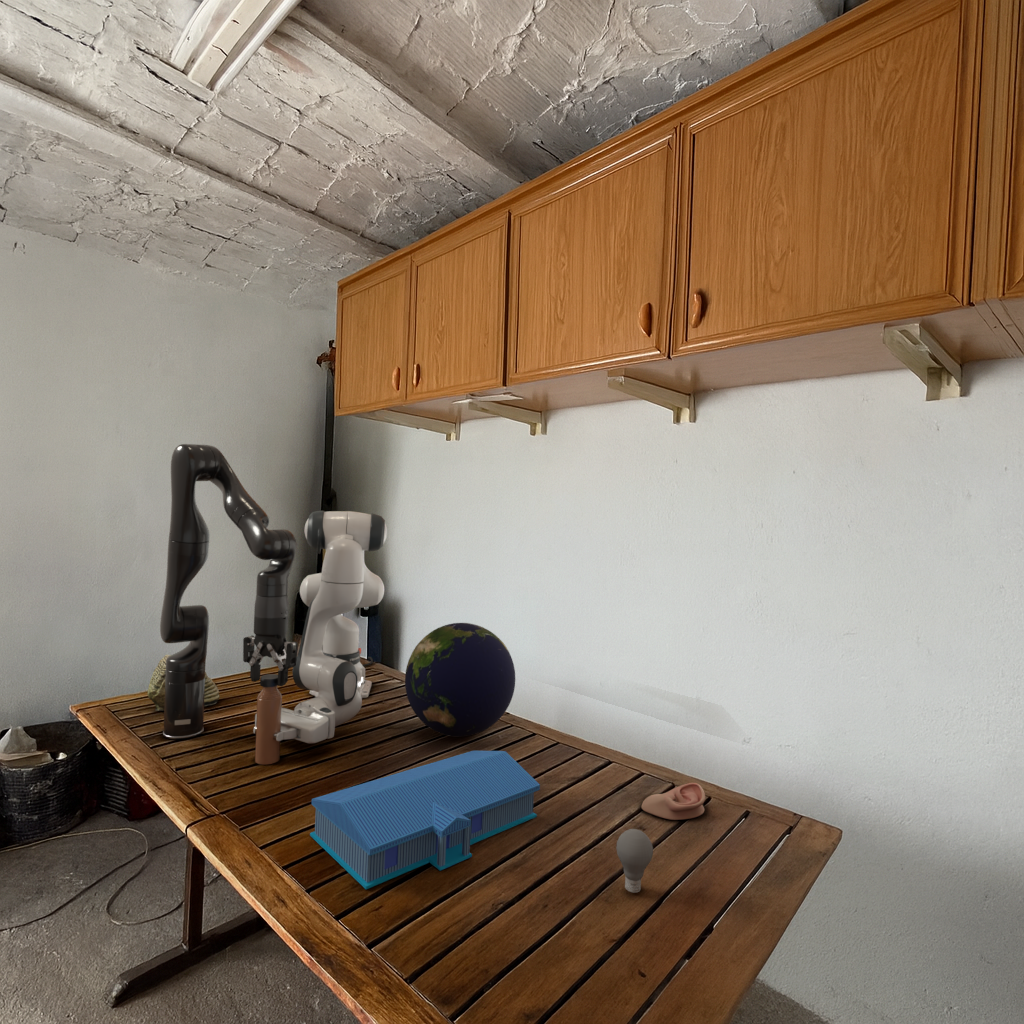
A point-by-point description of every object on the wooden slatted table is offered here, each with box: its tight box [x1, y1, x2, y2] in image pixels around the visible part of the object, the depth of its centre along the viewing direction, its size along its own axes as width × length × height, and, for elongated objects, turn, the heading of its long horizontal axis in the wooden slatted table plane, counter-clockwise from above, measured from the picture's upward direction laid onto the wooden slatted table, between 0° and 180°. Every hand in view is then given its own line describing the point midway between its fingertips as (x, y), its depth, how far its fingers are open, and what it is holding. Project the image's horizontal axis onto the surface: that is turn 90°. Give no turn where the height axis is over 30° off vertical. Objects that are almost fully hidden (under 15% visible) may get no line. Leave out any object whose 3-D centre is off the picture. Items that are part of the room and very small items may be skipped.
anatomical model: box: [640, 782, 706, 821], centre depth 135 cm, size 13×4×12 cm
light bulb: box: [615, 828, 654, 894], centre depth 106 cm, size 6×6×10 cm
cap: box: [259, 673, 279, 688], centre depth 151 cm, size 4×4×2 cm
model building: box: [309, 750, 541, 890], centre depth 123 cm, size 39×24×10 cm, turn 132°
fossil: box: [147, 654, 221, 712], centre depth 185 cm, size 9×18×15 cm, turn 132°
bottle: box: [254, 686, 283, 766], centre depth 151 cm, size 6×6×19 cm
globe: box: [404, 622, 516, 738], centre depth 173 cm, size 30×30×30 cm
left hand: (268, 682), depth 150 cm, fingers open, 7 cm apart
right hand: (265, 734), depth 150 cm, fingers closed on bottle, 5 cm apart
